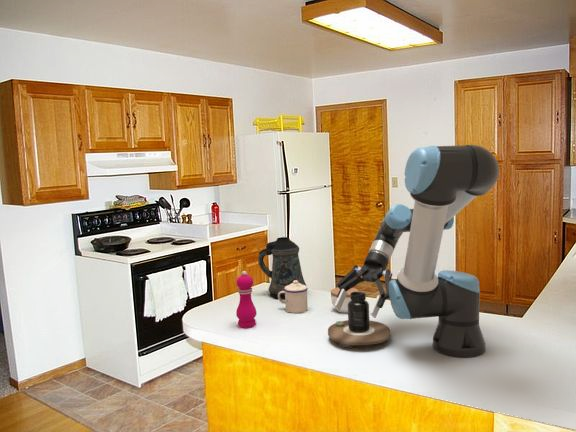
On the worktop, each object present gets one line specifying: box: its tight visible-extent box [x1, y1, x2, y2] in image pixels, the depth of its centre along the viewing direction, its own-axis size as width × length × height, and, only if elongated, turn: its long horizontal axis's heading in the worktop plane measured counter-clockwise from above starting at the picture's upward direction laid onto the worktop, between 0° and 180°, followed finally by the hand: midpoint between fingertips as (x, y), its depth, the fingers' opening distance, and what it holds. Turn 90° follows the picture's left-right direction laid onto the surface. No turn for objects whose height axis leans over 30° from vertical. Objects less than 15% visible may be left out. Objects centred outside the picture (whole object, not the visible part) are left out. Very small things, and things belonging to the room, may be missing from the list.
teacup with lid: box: [277, 280, 309, 314], centre depth 193 cm, size 12×9×12 cm
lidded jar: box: [330, 287, 360, 314], centre depth 190 cm, size 11×11×9 cm
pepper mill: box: [235, 270, 257, 329], centre depth 177 cm, size 7×7×20 cm
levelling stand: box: [327, 319, 391, 350], centre depth 161 cm, size 20×20×4 cm
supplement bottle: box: [347, 291, 371, 333], centre depth 160 cm, size 7×7×12 cm
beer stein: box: [257, 236, 307, 301], centre depth 213 cm, size 16×19×25 cm
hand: (354, 311), depth 158 cm, fingers open, 13 cm apart
